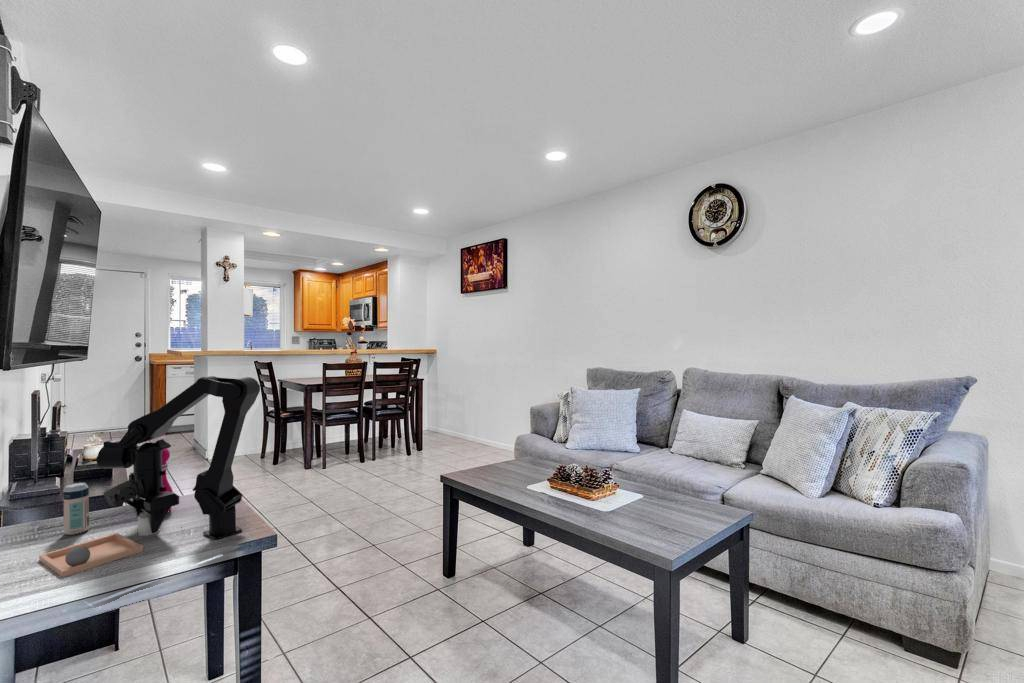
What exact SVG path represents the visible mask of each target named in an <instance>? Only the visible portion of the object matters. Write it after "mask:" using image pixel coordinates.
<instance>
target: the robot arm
mask: <svg viewBox="0 0 1024 683" xmlns="http://www.w3.org/2000/svg"><path fill="white" fill-rule="evenodd" d="M260 392H261V385H260V384H259V382H258V381H257V379H255V378H254V377H249V376H246V377H241V378H229V377H219V376H214V375H210V376H203V377H200V378H198V379H197V380H196V381H195V382H194V383H193V384H191V385H190V386H189V387H187V388H186V389H184V390H183V391H182V392H181V393H179V394H178V395H176V396H175V397H174V398H172V399H171V400H169V401H168V402H167V403H165V404H164V405H163V406H161V407H159V408H158V409H156V410H154V411H151V412H149V413H147V414H144V415H142V416H140V417H139V418H138V417H137V419H134V420H132V421H130V423H128V425H127V431H126V432H125V434H124V435H123V436H122V438H121V439H120V440H114V439H109V440H106V441H103V446H102V447H101V449H100V450H99V451H98V454H97V456H96V464H97V466H98V467H99V468H100V469H129V468H131V467H132V466H133V468H132V469H133V472H130V474H129V475H128V479H127V480H126V481H124V482H122V483H119V484H117V485H115V486H113V487H111V488H110V489H108V490H106V491H104V492H103V493H102V494H103V496H104V498H105V500H106V501H107V502H106V503H107V504H108V505H109V506H111V507H113V508H117V507H121V506H122V505H123V504H124V503H125V504H126V505H128V506H130V507H132V509H133V510H134V513H135V516H136V518H137V520H138V516H139V515H140V513H141V512H143V511H144V512H146V513H148V518H149V523H150V528H151V532H152V533H155V534H157V533H158V532H157V531H158V529H159V527H160V528H161V525H162V524H163V521H164V519H165V518H166V515H167V514H168V513H169V512H168V511H169V509H170V507H171V508H172V507H174V506H177V505H179V504H180V495H178V494H177V493H175V492H174V491H173V492H170V491H167V492H163V493H160V492H162V491H166V487H165V486H162V475H165V474H166V475H167V469H166V470H163V469H162V450H164V449H170V448H172V444H170V443H169V442H167V441H166V440H165V439H164V438H163V439H158V438H161V437H162V436H164V435H165V434H166V433H167V432H168V431H169V430H170V428H172V426H173V424H174V423H175V421H176V420H178V418H180V417H181V416H182V415H183V414H185V413H186V412H188V411H189V410H190V409H191V408H193V407H194V406H196V405H197V404H198V403H199V402H201V401H203V400H204V399H205V398H206V397H208V396H209V395H211V396H214V397H218V398H222V405H223V409H224V415H223V417H222V418H223V419H222V422H221V424H220V429H219V433H218V435H217V436H218V437H217V440H216V443H215V447H214V449H213V454H212V458H211V461H210V465H209V467H208V469H207V470H204V471H202V472H200V473H198V474H197V475H196V478H195V479H196V480H195V485H194V487H193V489H192V492H194V495H193V496H194V499H195V501H196V502H197V504H198V505H199V507H200V510H201V512H202V515H208V527H209V529H207V530H205V531H203V532H202V535H204V536H207V537H209V538H211V539H213V540H219V539H222V538H225V537H229V536H231V535H234V534H237V533H240V532H242V531H243V528H241V527H239V526H237V525H236V523H237V514H236V513H237V512H236V511H237V510H236V509H237V508H236V505H237V504H240V503H241V501H242V499H243V496H244V495H243V493H242V492H240V491H239V490H238V489H237V488H236V487H235V486H233V485H234V474H233V470H232V466H233V462H234V459H235V454H236V451H237V448H238V444H239V441H240V436H241V433H242V430H243V426H244V423H245V419H246V416H247V414H248V412H249V411H250V409H252V407H253V406H254V404H255V402H256V400H257V398H258V396H259V393H260ZM155 439H158V440H156V442H155V441H154V442H155V443H154V442H148V441H152V440H155ZM140 444H142V445H140ZM167 512H168V513H167ZM156 532H157V533H156Z"/></svg>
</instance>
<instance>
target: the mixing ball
mask: <svg viewBox="0 0 1024 683" xmlns="http://www.w3.org/2000/svg"><path fill="white" fill-rule="evenodd" d="M89 558H90V550H89V549H88V548H86V547H83V546H79V547H75V548H73V549H71V550H70V551H69V552H68V553H67V555H66V558H65V561H66V563H67V564H68V565H69V566H72V567H74V566H77V565H81V564H84V563H86V562H87V561H88V559H89Z"/></svg>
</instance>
